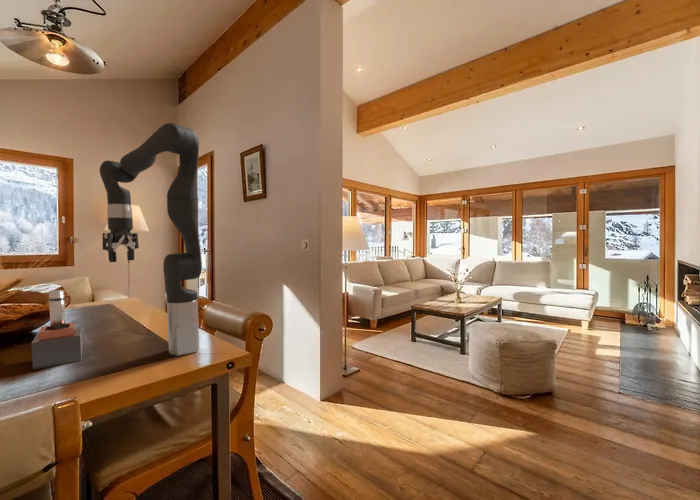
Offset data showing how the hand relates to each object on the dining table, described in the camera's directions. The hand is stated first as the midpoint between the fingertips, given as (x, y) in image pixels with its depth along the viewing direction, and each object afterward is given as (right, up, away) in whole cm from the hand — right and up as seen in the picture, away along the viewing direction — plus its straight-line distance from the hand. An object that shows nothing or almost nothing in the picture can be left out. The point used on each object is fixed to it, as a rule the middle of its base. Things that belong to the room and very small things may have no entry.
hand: (122, 261), depth 120 cm
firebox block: (-8, -31, -17) cm, 36 cm away
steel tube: (-9, -23, -17) cm, 30 cm away
